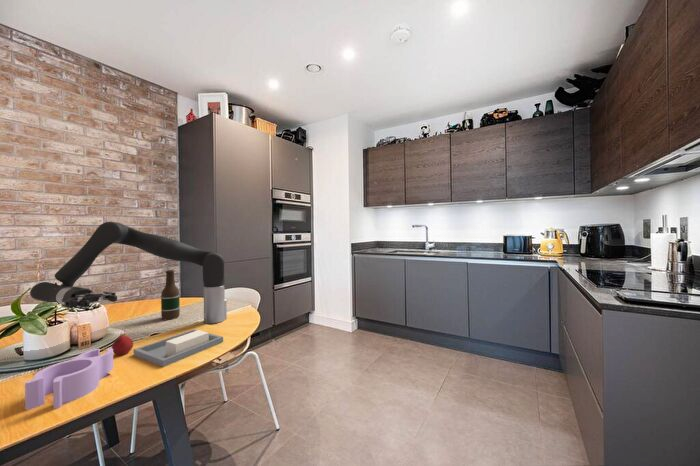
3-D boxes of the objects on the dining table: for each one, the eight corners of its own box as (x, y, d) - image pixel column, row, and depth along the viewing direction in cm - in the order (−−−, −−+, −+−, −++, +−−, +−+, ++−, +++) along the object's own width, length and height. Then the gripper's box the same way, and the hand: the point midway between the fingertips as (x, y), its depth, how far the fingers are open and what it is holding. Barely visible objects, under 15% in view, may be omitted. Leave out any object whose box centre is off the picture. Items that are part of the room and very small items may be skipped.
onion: (121, 360, 95) (120, 337, 95) (107, 359, 96) (107, 336, 96) (137, 353, 101) (137, 331, 101) (124, 351, 102) (124, 330, 102)
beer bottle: (157, 319, 138) (156, 271, 138) (170, 314, 146) (169, 269, 145) (171, 320, 137) (170, 271, 136) (183, 315, 144) (182, 269, 144)
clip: (84, 370, 89) (84, 348, 89) (125, 369, 90) (125, 347, 90) (13, 411, 69) (13, 383, 69) (67, 409, 70) (66, 381, 70)
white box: (198, 342, 107) (198, 330, 107) (208, 345, 105) (208, 332, 105) (165, 355, 97) (165, 341, 97) (176, 359, 94) (176, 344, 94)
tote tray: (194, 336, 117) (193, 329, 117) (223, 344, 108) (223, 336, 108) (133, 357, 97) (133, 349, 97) (163, 370, 89) (163, 360, 89)
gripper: (50, 290, 100) (78, 295, 95) (97, 283, 114) (124, 287, 108) (49, 311, 100) (78, 317, 95) (96, 302, 114) (123, 306, 108)
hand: (102, 301), depth 102 cm, fingers open, 8 cm apart
